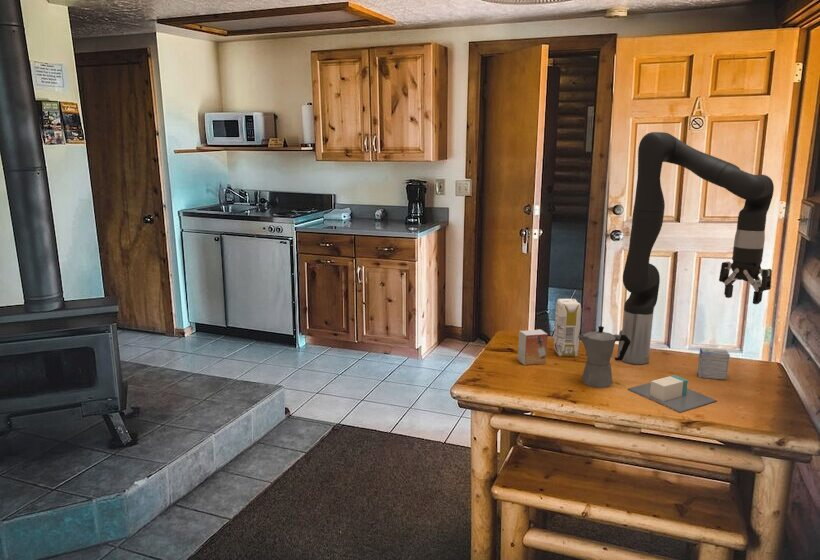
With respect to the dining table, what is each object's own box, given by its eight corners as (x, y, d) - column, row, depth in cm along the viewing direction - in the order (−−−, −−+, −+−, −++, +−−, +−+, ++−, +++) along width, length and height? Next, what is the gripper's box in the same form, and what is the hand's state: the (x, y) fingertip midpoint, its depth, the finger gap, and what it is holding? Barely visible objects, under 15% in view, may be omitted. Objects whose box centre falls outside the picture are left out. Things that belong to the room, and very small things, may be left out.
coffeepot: (576, 387, 182) (580, 330, 178) (572, 375, 191) (576, 320, 187) (629, 389, 180) (635, 332, 176) (623, 378, 189) (628, 323, 185)
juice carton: (557, 357, 207) (561, 304, 203) (551, 349, 215) (555, 297, 211) (579, 357, 207) (583, 304, 203) (572, 349, 215) (576, 297, 211)
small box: (524, 365, 199) (525, 335, 197) (517, 360, 204) (518, 330, 202) (546, 363, 201) (548, 333, 199) (539, 358, 206) (540, 328, 204)
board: (627, 389, 180) (627, 388, 180) (664, 380, 187) (664, 378, 187) (679, 412, 165) (680, 411, 164) (717, 401, 172) (717, 400, 172)
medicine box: (723, 375, 192) (726, 349, 190) (726, 380, 188) (730, 354, 186) (696, 372, 194) (699, 347, 192) (699, 377, 190) (702, 351, 188)
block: (662, 401, 171) (686, 394, 176) (664, 386, 170) (687, 380, 175) (649, 395, 175) (673, 389, 180) (651, 381, 174) (674, 375, 179)
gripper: (781, 248, 167) (773, 304, 171) (734, 241, 180) (727, 294, 183) (764, 250, 164) (757, 307, 168) (717, 243, 176) (711, 296, 180)
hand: (741, 300), depth 175 cm, fingers open, 8 cm apart
